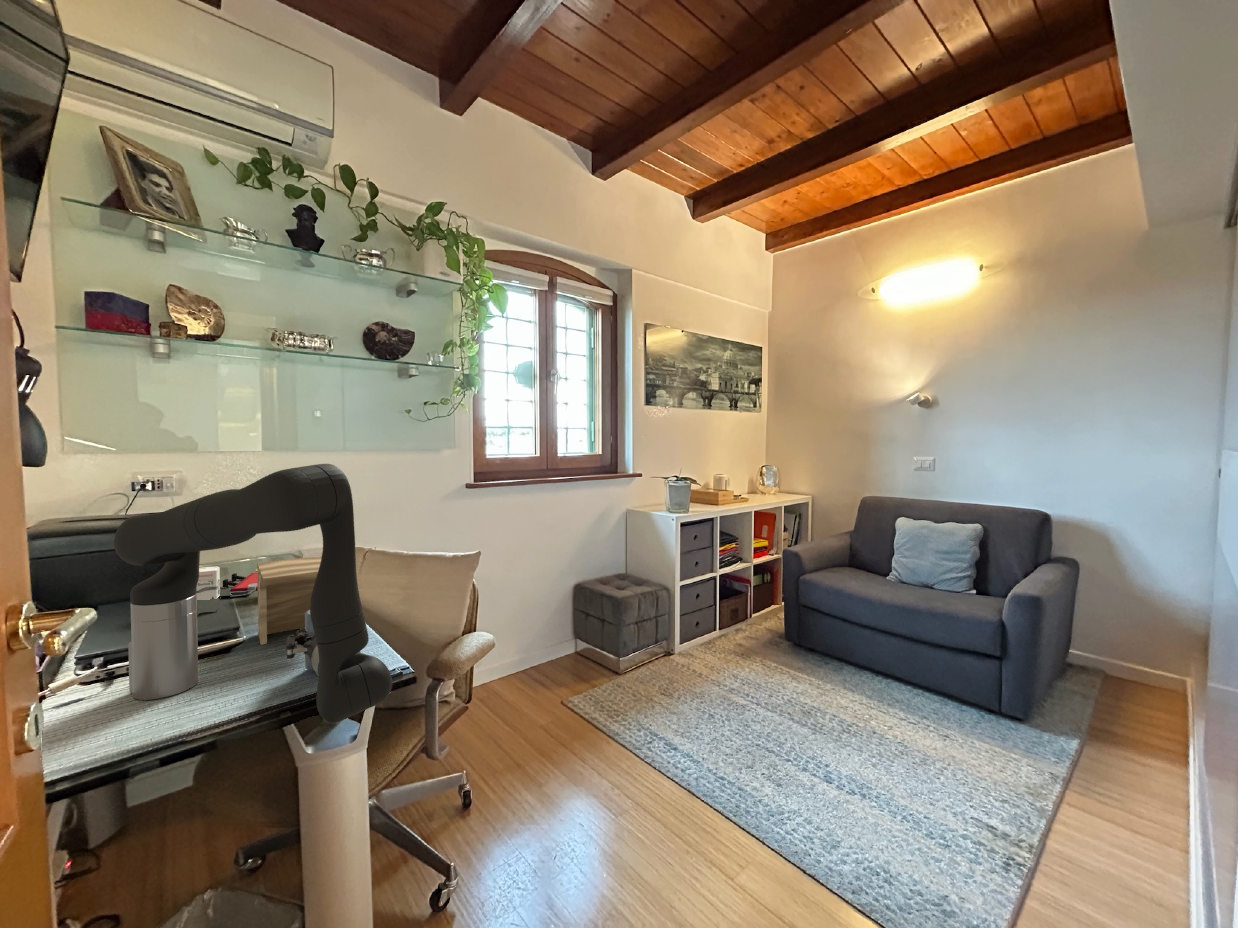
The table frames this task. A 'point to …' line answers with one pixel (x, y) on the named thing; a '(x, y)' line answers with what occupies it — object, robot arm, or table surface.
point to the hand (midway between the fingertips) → (320, 628)
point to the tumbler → (308, 629)
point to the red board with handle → (242, 584)
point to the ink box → (208, 583)
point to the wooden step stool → (284, 594)
